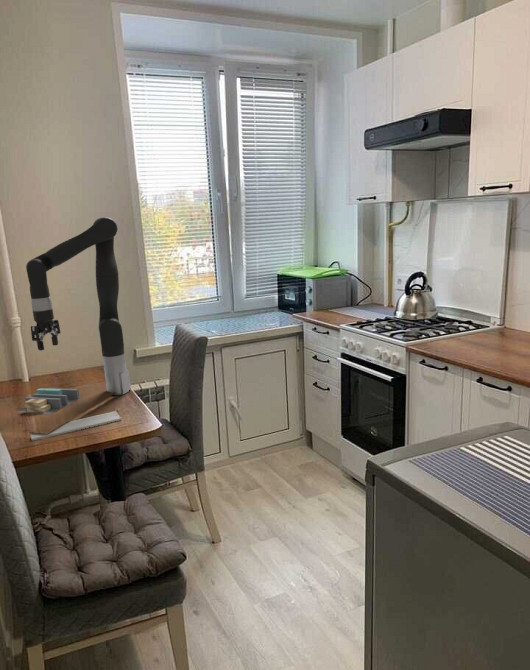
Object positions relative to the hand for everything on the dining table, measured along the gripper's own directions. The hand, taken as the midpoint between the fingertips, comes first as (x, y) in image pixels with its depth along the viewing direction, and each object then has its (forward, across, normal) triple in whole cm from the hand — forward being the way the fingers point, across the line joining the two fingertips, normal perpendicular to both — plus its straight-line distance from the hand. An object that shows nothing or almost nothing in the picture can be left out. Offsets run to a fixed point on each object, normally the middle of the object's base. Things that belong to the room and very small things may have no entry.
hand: (48, 347), depth 208 cm
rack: (+24, -5, -1) cm, 25 cm away
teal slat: (+20, -1, -3) cm, 21 cm away
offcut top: (+21, -12, 0) cm, 24 cm away
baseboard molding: (+25, -20, -24) cm, 40 cm away
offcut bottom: (+23, -12, -1) cm, 26 cm away
